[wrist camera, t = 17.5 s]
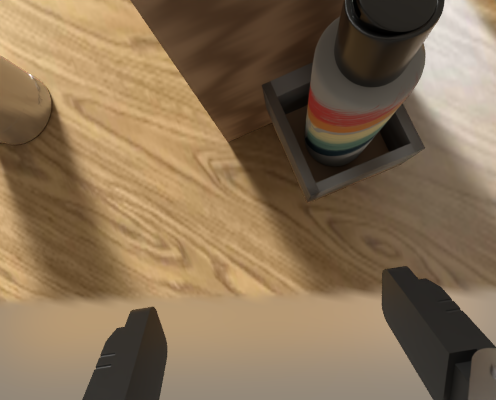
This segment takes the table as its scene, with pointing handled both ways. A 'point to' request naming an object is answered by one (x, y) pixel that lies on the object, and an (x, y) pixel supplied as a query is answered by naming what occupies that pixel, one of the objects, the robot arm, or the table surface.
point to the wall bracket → (267, 78)
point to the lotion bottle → (364, 73)
